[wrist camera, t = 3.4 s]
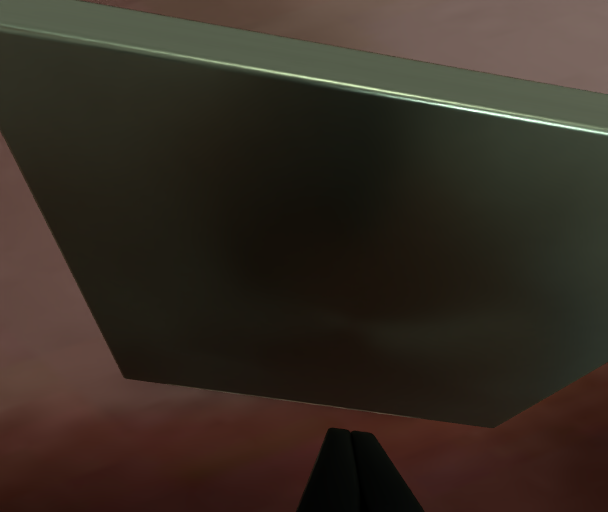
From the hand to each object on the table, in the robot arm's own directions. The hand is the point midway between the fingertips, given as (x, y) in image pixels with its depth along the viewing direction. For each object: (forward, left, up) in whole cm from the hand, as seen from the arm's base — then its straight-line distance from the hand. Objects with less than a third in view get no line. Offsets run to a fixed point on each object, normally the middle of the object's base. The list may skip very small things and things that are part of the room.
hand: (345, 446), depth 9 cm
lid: (+3, +1, -1) cm, 3 cm away
